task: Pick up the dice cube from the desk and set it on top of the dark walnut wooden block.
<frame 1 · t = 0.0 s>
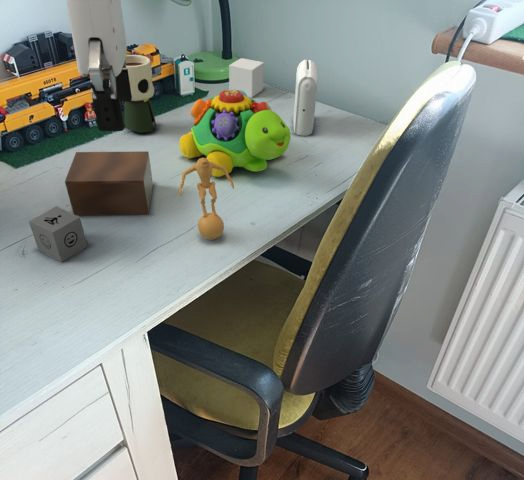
hand: (116, 114, 69), 17 cm above the table, tool pointing down, fingers open, 9 cm apart
character mug: (141, 130, 107), on the table
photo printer: (302, 127, 110), on the table
figurine: (210, 234, 81), on the table
white cube: (246, 92, 123), on the table
walnut block: (115, 199, 87), on the table
turtle toy: (240, 162, 98), on the table
dice cube: (63, 249, 77), on the table
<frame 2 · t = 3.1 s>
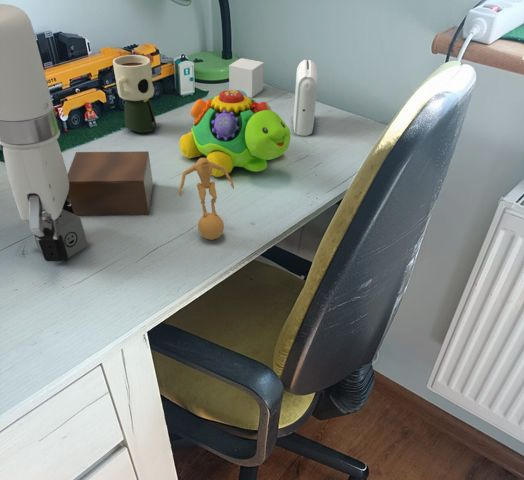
hand: (62, 243, 77), 1 cm above the table, tool pointing down, fingers closed on dice cube, 7 cm apart
dice cube: (63, 249, 77), on the table, touching gripper
everything else where it was.
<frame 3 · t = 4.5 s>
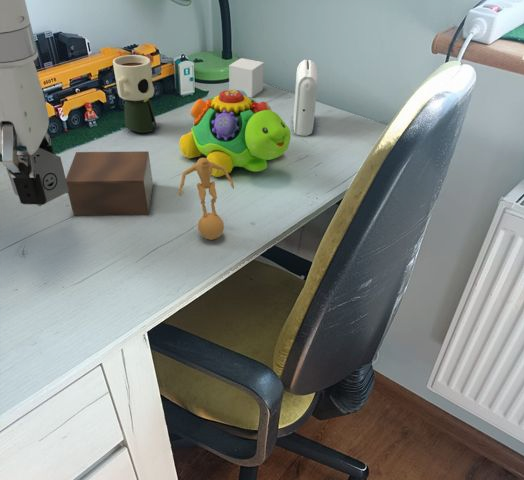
hand: (40, 187, 70), 10 cm above the table, tool pointing down, fingers closed on dice cube, 7 cm apart
dice cube: (42, 194, 71), point 9 cm above the table, touching gripper
everything else where it was.
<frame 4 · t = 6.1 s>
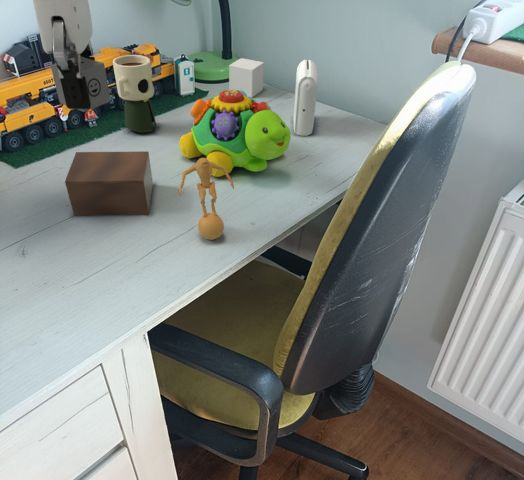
hand: (84, 96, 73), 17 cm above the table, tool pointing down, fingers closed on dice cube, 7 cm apart
dice cube: (85, 103, 74), point 16 cm above the table, touching gripper
everything else where it was.
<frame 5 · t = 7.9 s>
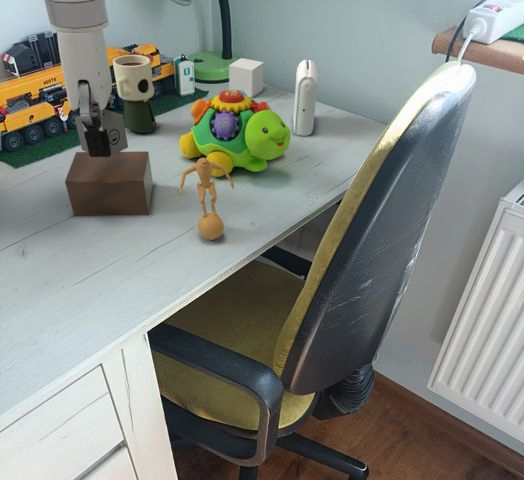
hand: (104, 143, 80), 10 cm above the table, tool pointing down, fingers closed on dice cube, 7 cm apart
dice cube: (105, 149, 81), point 9 cm above the table, touching gripper
everything else where it was.
when the fingers open (7 cm above the table, at t = 9.3 s): dice cube stays where it is, resting on walnut block.
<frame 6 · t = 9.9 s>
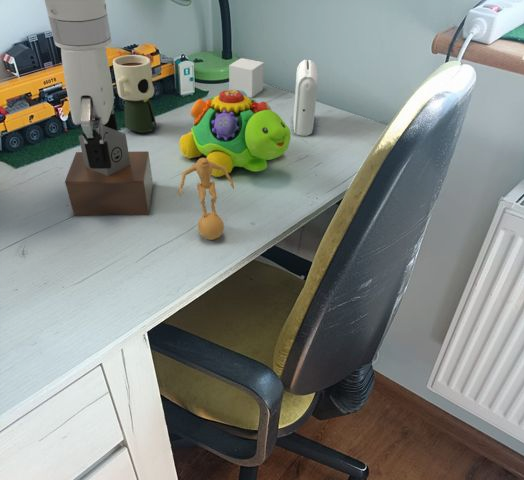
hand: (105, 152, 81), 8 cm above the table, tool pointing down, fingers open, 9 cm apart
dice cube: (108, 166, 83), point 6 cm above the table, touching walnut block
everything else where it was.
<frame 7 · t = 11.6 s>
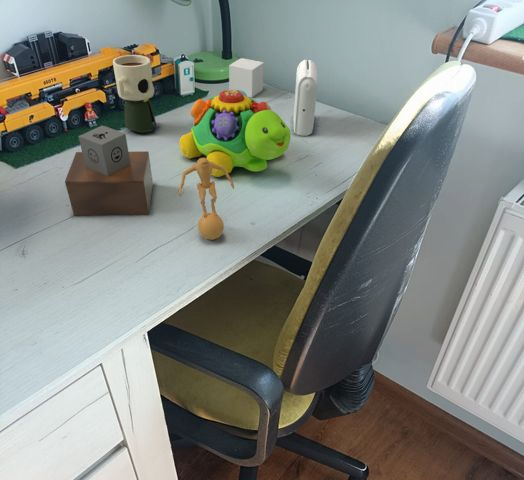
nothing on the table moved.
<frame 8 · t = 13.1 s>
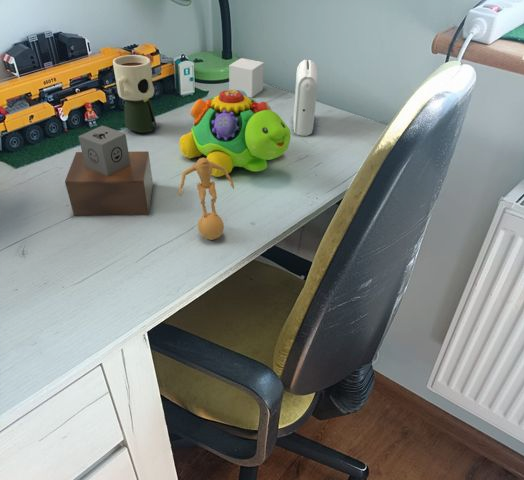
nothing on the table moved.
at the end: dice cube inside the target area on the walnut block (0.1 cm from its centre), point 5.8 cm above the walnut block's base; dice cube tilted 0°; the gripper is holding nothing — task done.
